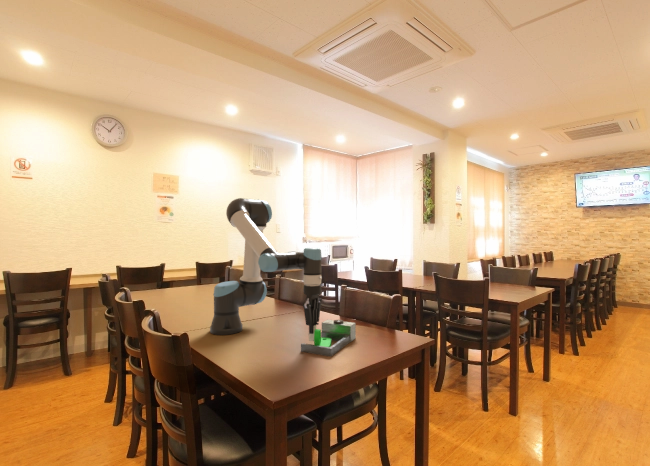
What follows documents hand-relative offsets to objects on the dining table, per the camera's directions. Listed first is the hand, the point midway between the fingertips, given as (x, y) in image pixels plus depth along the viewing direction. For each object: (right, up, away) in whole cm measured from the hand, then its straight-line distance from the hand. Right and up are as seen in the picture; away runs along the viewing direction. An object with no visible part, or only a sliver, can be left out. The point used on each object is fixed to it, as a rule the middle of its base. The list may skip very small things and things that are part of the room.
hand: (312, 340), depth 143 cm
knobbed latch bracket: (+7, -2, +1) cm, 7 cm away
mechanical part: (+5, -2, -1) cm, 5 cm away
